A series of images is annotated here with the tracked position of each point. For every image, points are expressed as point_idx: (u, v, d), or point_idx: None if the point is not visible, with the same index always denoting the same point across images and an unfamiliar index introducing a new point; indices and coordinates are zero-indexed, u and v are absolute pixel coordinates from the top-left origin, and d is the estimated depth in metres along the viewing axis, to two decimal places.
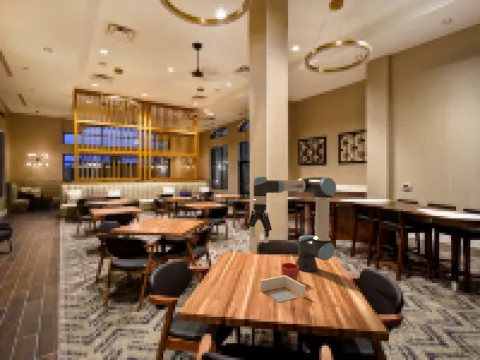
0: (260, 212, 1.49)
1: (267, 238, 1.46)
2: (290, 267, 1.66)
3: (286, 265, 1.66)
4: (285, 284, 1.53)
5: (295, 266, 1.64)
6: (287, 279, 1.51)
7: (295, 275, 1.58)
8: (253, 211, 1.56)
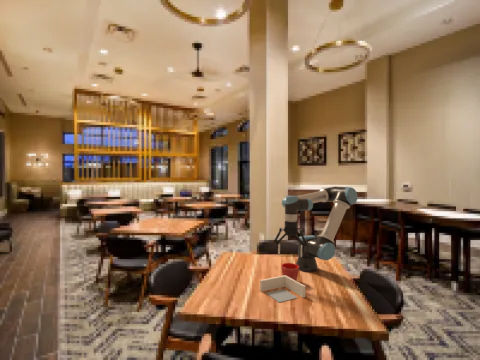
0: (294, 229, 1.60)
1: (302, 252, 1.60)
2: (290, 267, 1.66)
3: (286, 265, 1.66)
4: (285, 284, 1.53)
5: (295, 266, 1.64)
6: (287, 279, 1.51)
7: (295, 275, 1.58)
8: (281, 228, 1.63)
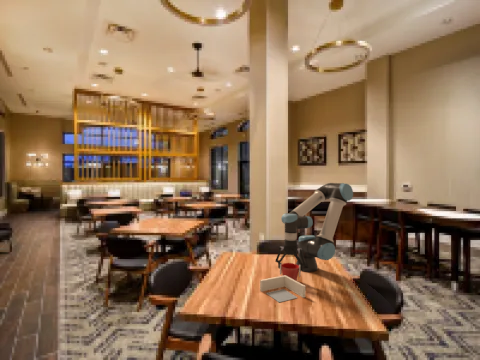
0: (294, 247, 1.60)
1: (300, 272, 1.60)
2: (290, 267, 1.66)
3: (286, 265, 1.66)
4: (285, 284, 1.53)
5: (295, 266, 1.64)
6: (287, 279, 1.51)
7: (295, 275, 1.58)
8: (281, 247, 1.63)
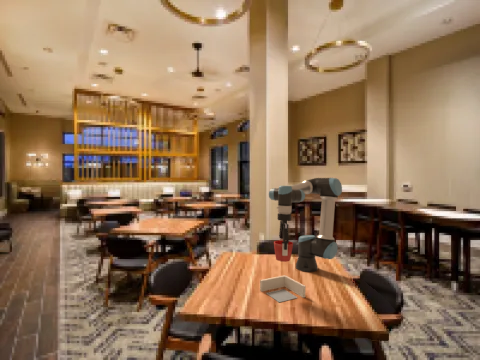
0: (282, 222, 1.44)
1: (286, 251, 1.40)
2: None
3: (289, 243, 1.49)
4: (285, 284, 1.53)
5: None
6: (287, 279, 1.51)
7: (278, 252, 1.43)
8: (281, 221, 1.52)
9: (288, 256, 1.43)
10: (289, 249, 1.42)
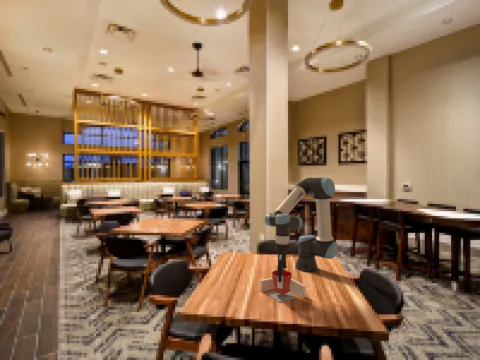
0: (279, 253, 1.39)
1: (281, 283, 1.35)
2: None
3: (289, 274, 1.43)
4: None
5: None
6: None
7: (275, 283, 1.39)
8: None
9: (285, 288, 1.37)
10: (285, 281, 1.36)
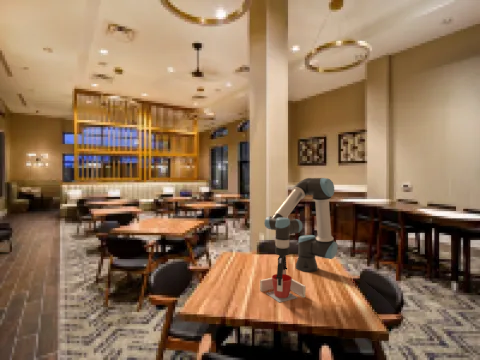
0: (279, 256, 1.39)
1: (280, 287, 1.34)
2: None
3: (289, 278, 1.43)
4: None
5: None
6: None
7: (275, 287, 1.39)
8: None
9: (285, 293, 1.37)
10: (285, 286, 1.37)
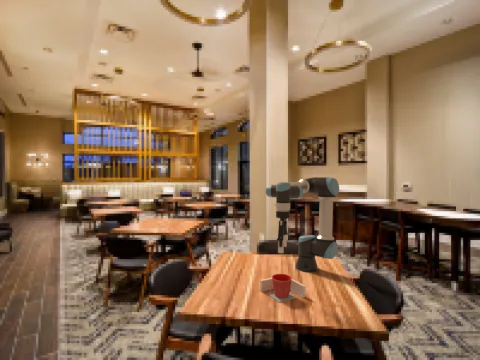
0: (280, 220, 1.41)
1: (281, 248, 1.36)
2: None
3: (289, 278, 1.43)
4: None
5: None
6: None
7: (275, 287, 1.39)
8: None
9: (285, 293, 1.37)
10: (285, 286, 1.37)
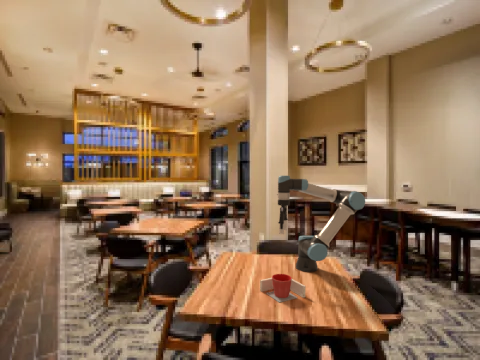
0: (281, 207, 1.68)
1: (282, 230, 1.63)
2: None
3: (289, 278, 1.43)
4: None
5: None
6: None
7: (275, 287, 1.39)
8: None
9: (285, 293, 1.37)
10: (285, 286, 1.37)
